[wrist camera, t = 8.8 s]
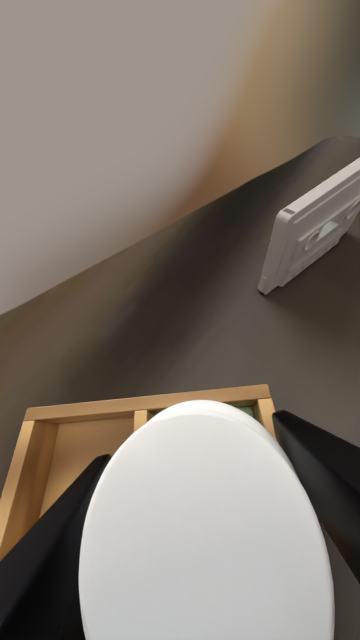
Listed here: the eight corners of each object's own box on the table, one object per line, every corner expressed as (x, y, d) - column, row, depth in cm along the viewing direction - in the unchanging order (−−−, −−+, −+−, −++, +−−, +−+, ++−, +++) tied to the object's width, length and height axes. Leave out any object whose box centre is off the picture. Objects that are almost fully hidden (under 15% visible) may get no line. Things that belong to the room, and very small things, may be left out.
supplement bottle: (182, 566, 10) (11, 1108, 2) (151, 442, 13) (33, 428, 5) (285, 517, 10) (546, 780, 2) (232, 407, 13) (254, 336, 5)
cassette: (268, 300, 19) (295, 222, 12) (252, 288, 20) (270, 209, 13) (351, 234, 21) (410, 141, 15) (334, 226, 22) (382, 135, 16)
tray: (300, 559, 11) (326, 593, 8) (22, 566, 12) (-29, 597, 10) (259, 394, 15) (268, 383, 12) (56, 414, 16) (27, 407, 14)
